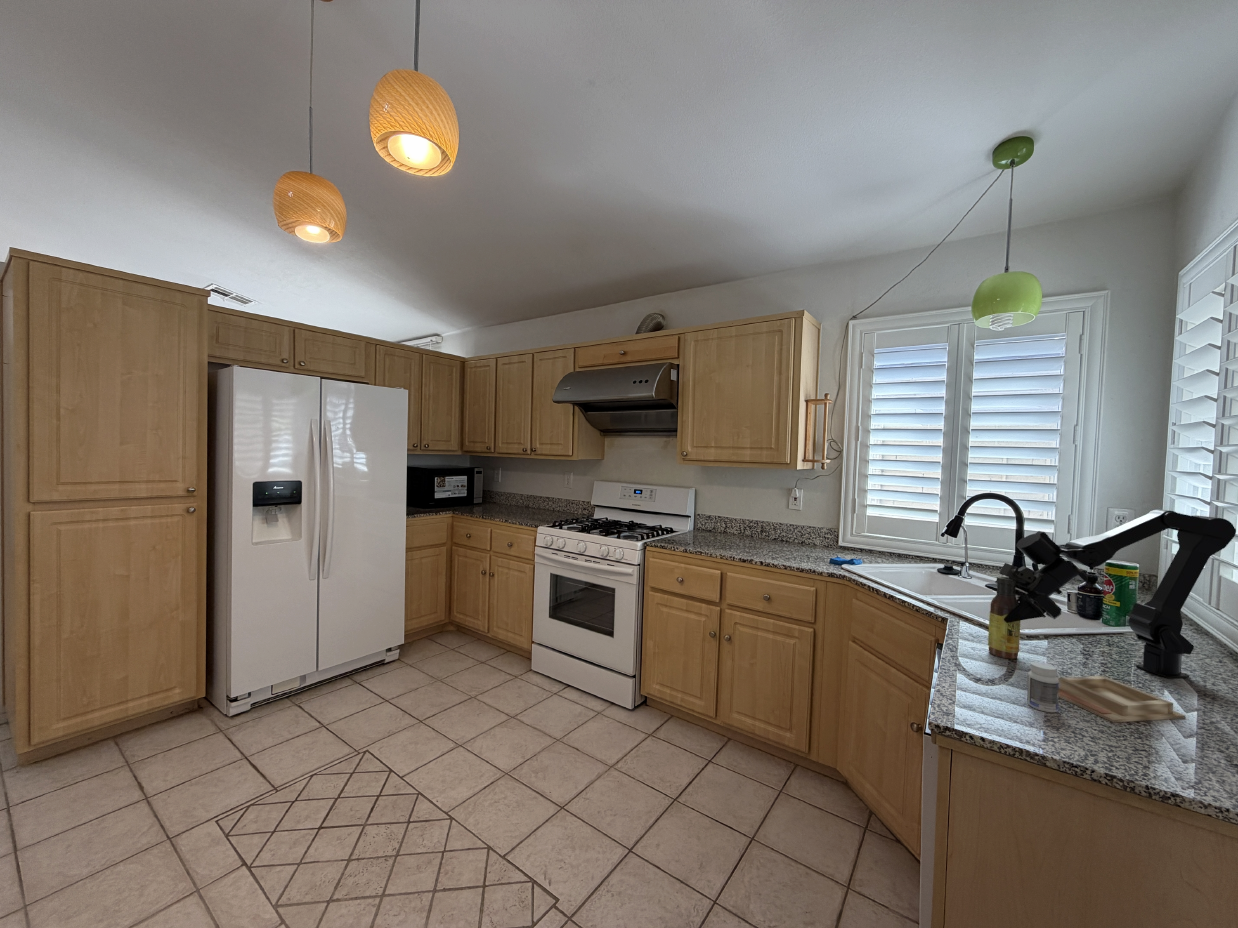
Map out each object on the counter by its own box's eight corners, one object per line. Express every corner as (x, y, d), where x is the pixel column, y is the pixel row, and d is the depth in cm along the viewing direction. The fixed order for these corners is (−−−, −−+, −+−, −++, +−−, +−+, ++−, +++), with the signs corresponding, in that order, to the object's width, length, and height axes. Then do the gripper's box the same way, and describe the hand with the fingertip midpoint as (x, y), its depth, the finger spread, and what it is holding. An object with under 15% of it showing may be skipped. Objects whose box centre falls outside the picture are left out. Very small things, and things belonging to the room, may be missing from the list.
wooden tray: (1103, 684, 108) (1103, 673, 108) (1185, 717, 94) (1186, 705, 94) (1038, 687, 105) (1038, 676, 105) (1113, 722, 91) (1113, 709, 91)
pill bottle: (1064, 714, 94) (1065, 671, 94) (1036, 711, 95) (1037, 668, 95) (1047, 702, 99) (1049, 661, 98) (1021, 699, 99) (1022, 659, 99)
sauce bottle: (1011, 661, 119) (1014, 582, 119) (982, 652, 125) (985, 576, 125) (1024, 657, 122) (1027, 579, 122) (995, 648, 128) (998, 574, 128)
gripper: (1004, 547, 132) (957, 584, 134) (1048, 561, 113) (992, 603, 116) (1037, 579, 130) (988, 615, 132) (1086, 597, 112) (1029, 639, 114)
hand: (998, 617), depth 124 cm, fingers closed on sauce bottle, 6 cm apart
